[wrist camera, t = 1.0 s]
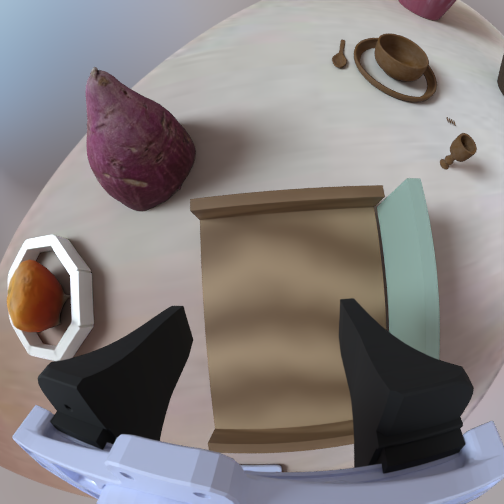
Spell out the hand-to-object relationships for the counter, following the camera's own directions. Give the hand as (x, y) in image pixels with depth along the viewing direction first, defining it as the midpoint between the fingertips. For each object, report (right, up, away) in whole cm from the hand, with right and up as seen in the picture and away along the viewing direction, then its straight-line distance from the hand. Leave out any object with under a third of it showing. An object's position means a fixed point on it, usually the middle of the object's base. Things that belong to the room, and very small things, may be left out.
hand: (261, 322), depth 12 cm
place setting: (+18, +23, +15) cm, 33 cm away
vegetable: (-11, +13, +16) cm, 23 cm away
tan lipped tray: (+4, -3, +12) cm, 13 cm away
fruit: (-24, -2, +15) cm, 29 cm away
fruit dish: (-24, -2, +15) cm, 29 cm away
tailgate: (+12, -2, +10) cm, 16 cm away
